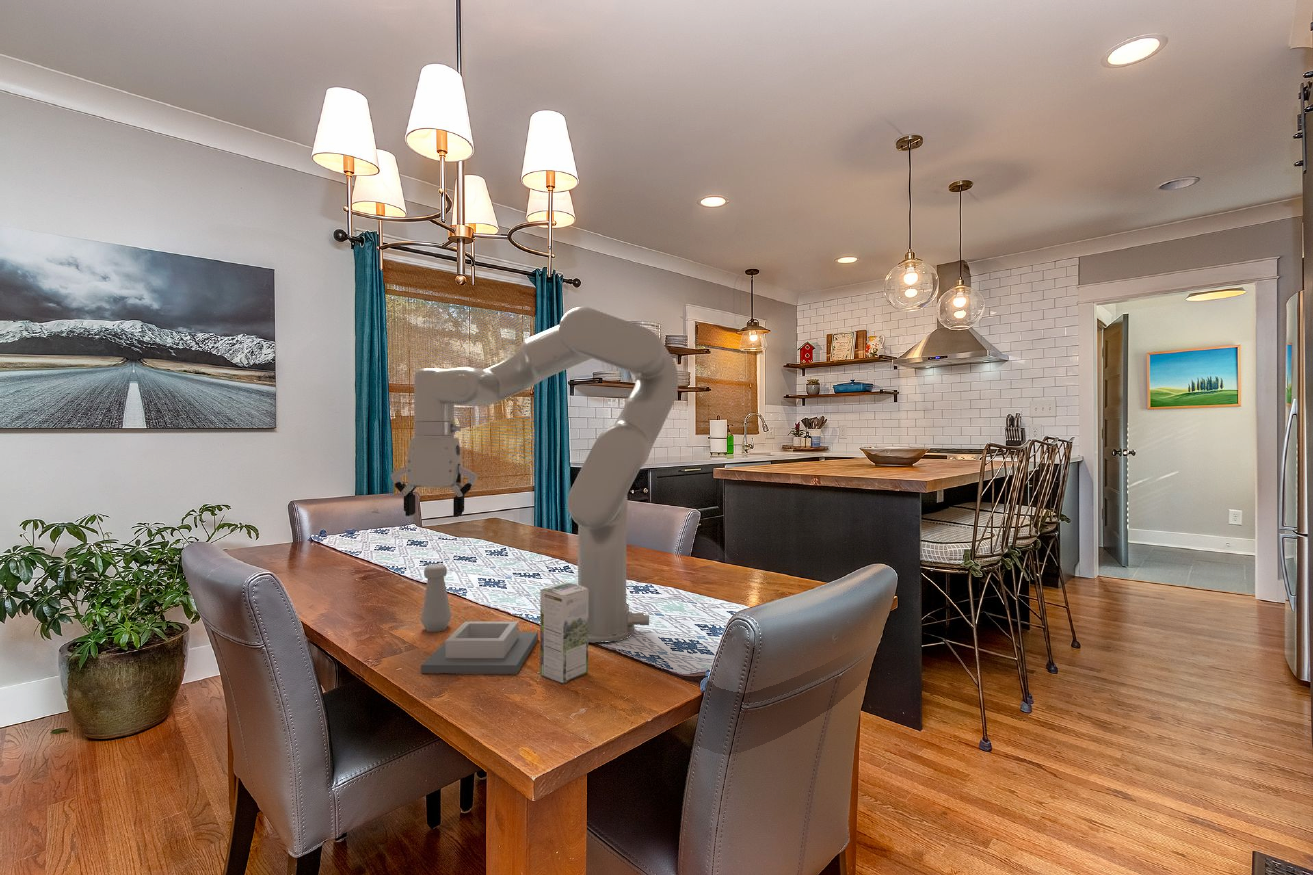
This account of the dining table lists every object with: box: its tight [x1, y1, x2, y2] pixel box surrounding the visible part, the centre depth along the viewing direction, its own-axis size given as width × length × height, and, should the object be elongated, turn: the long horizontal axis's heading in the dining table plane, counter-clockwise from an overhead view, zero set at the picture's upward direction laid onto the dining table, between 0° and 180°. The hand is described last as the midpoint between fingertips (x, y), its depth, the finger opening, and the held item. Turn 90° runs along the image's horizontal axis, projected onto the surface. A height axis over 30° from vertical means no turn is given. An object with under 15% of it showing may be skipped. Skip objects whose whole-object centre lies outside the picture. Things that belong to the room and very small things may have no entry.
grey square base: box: [420, 620, 539, 675], centre depth 110 cm, size 16×16×4 cm
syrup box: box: [539, 582, 589, 684], centre depth 101 cm, size 6×6×14 cm
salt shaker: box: [420, 563, 452, 633], centre depth 124 cm, size 6×6×13 cm
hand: (434, 515), depth 123 cm, fingers open, 9 cm apart
